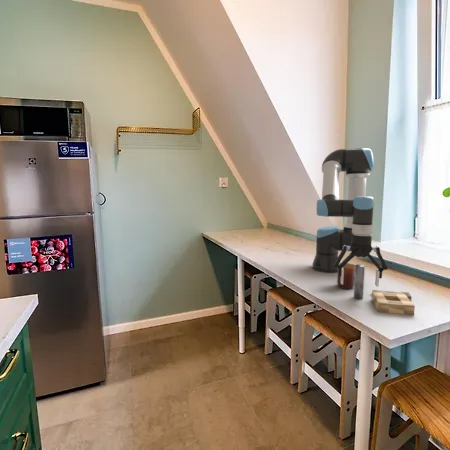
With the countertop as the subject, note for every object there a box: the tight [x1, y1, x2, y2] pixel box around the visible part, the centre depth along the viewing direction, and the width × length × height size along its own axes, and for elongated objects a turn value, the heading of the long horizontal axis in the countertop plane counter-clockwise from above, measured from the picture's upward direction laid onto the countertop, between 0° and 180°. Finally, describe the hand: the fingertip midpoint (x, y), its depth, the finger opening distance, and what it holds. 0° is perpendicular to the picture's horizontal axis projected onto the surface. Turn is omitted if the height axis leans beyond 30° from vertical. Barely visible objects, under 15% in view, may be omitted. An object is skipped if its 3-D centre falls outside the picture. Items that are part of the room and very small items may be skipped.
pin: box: [353, 263, 366, 300], centre depth 129 cm, size 4×4×14 cm
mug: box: [336, 262, 356, 290], centre depth 142 cm, size 12×9×10 cm
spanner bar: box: [371, 289, 412, 302], centre depth 130 cm, size 14×5×2 cm, turn 71°
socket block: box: [371, 292, 416, 316], centre depth 120 cm, size 12×12×4 cm
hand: (359, 284), depth 129 cm, fingers open, 13 cm apart
